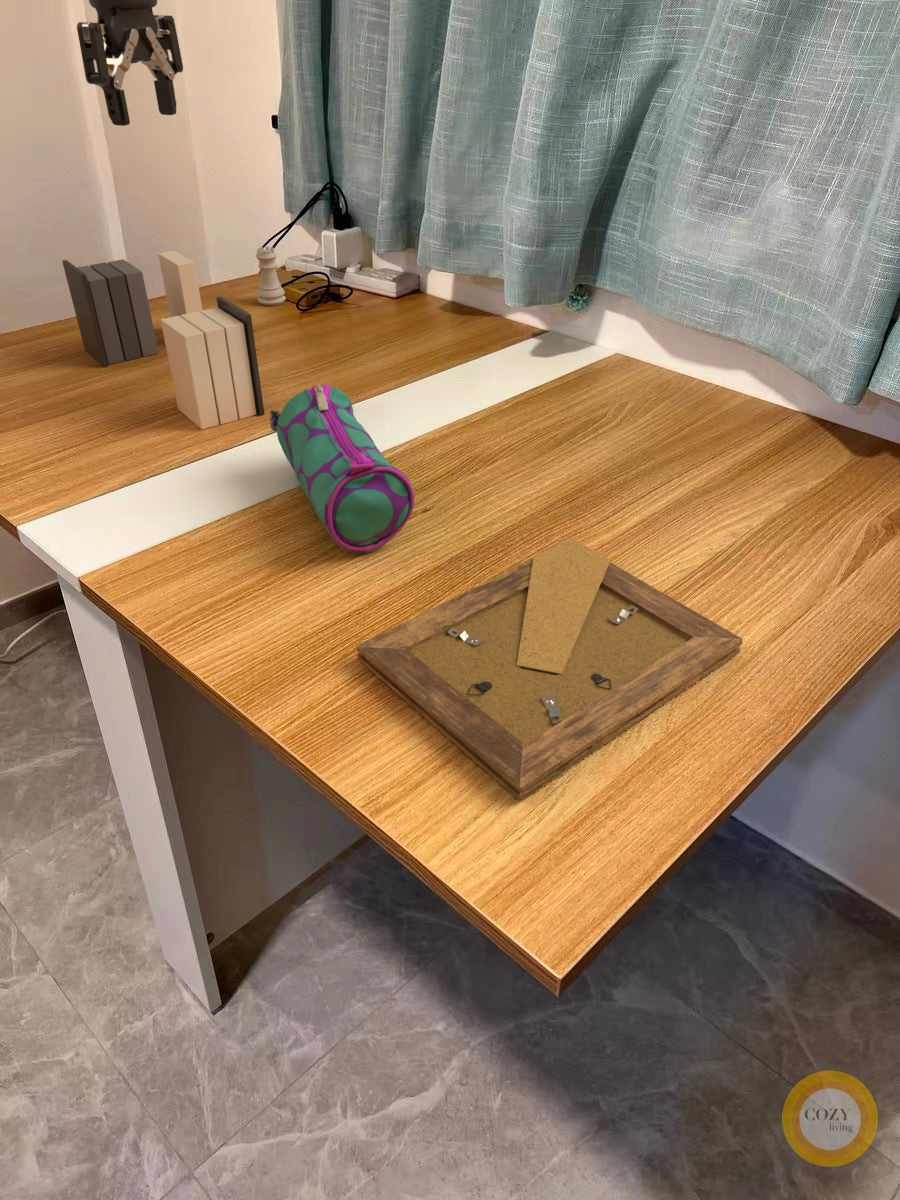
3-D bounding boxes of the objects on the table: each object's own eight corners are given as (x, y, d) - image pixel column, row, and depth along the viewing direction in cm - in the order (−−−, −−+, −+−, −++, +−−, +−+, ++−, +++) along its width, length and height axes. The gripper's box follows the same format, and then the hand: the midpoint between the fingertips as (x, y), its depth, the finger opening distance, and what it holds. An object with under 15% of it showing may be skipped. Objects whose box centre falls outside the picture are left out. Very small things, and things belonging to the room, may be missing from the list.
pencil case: (275, 467, 95) (264, 382, 89) (354, 452, 98) (348, 369, 92) (329, 569, 80) (319, 474, 74) (421, 548, 82) (419, 455, 76)
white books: (203, 431, 102) (184, 329, 95) (176, 408, 107) (156, 309, 100) (264, 414, 106) (251, 314, 99) (235, 392, 111) (220, 296, 104)
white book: (192, 345, 124) (177, 265, 117) (172, 331, 129) (157, 253, 122) (208, 342, 125) (194, 261, 119) (188, 328, 130) (174, 250, 123)
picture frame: (570, 553, 81) (357, 660, 69) (571, 537, 80) (355, 643, 68) (739, 654, 70) (520, 803, 58) (744, 636, 69) (521, 785, 57)
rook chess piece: (252, 305, 138) (245, 252, 133) (264, 296, 141) (257, 244, 137) (279, 307, 137) (273, 253, 132) (290, 298, 140) (284, 245, 136)
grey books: (103, 367, 118) (81, 275, 111) (84, 349, 123) (61, 260, 116) (160, 354, 121) (142, 264, 114) (139, 337, 127) (120, 250, 119)
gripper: (132, -44, 106) (159, 110, 115) (42, -43, 95) (80, 126, 105) (183, -44, 103) (206, 113, 113) (95, -43, 93) (129, 130, 102)
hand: (145, 119), depth 109 cm, fingers open, 8 cm apart
